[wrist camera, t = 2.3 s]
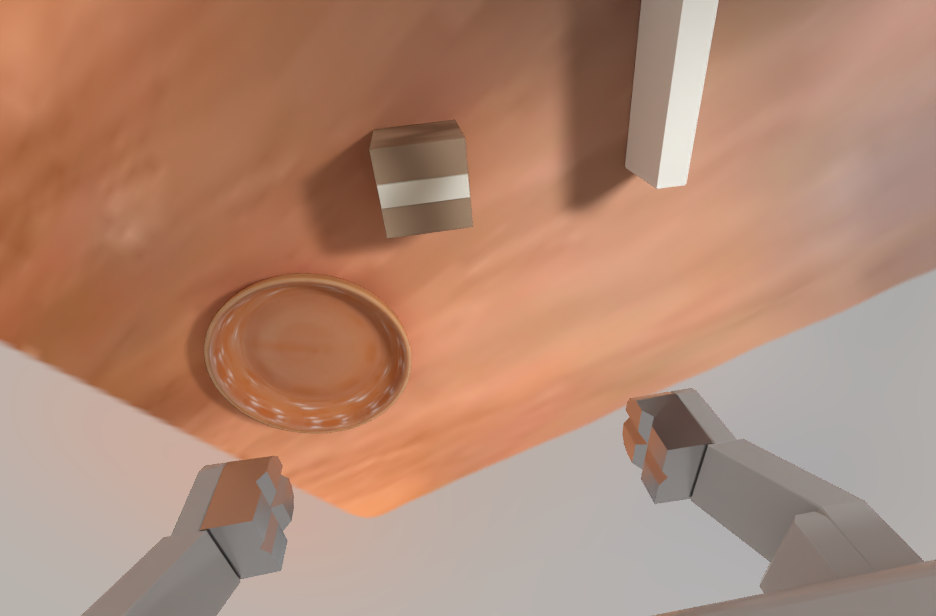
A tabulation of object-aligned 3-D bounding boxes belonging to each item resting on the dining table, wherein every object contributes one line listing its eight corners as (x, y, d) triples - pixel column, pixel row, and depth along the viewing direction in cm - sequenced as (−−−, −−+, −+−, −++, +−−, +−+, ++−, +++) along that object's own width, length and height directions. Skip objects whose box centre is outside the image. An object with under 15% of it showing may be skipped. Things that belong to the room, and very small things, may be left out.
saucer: (401, 253, 36) (402, 271, 33) (417, 401, 44) (418, 424, 42) (187, 268, 34) (170, 288, 32) (247, 419, 43) (237, 444, 40)
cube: (455, 119, 31) (465, 138, 26) (462, 198, 34) (473, 228, 29) (373, 129, 30) (368, 150, 26) (388, 207, 33) (387, 239, 29)
